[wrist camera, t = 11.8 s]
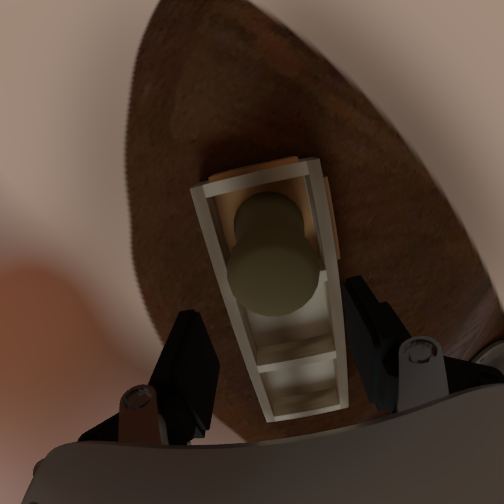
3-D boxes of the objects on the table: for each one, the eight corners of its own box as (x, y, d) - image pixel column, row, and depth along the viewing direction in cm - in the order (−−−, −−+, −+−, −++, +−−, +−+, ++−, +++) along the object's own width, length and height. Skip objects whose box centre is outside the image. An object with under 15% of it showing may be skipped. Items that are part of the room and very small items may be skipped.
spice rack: (314, 151, 23) (323, 152, 20) (345, 386, 33) (351, 406, 29) (197, 178, 24) (188, 183, 21) (266, 401, 34) (267, 422, 31)
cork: (218, 224, 25) (191, 282, 15) (271, 176, 24) (279, 201, 13) (266, 271, 27) (269, 350, 16) (318, 228, 25) (355, 287, 15)
